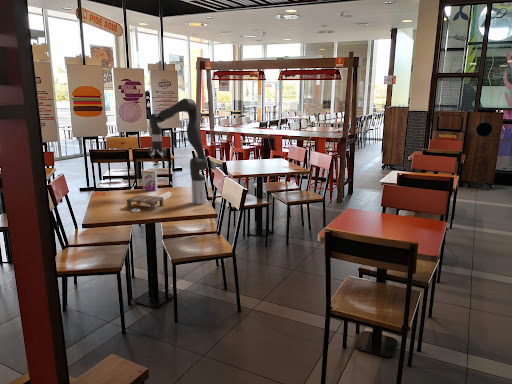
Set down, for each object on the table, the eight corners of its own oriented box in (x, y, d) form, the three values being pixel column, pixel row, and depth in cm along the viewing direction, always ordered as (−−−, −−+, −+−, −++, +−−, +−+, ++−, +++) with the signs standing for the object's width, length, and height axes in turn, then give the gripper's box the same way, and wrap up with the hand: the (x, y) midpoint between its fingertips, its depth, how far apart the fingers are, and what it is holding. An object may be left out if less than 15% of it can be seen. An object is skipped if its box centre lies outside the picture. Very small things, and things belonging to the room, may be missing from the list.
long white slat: (174, 196, 311) (174, 192, 310) (157, 204, 287) (157, 200, 286) (165, 195, 313) (165, 191, 312) (147, 203, 289) (147, 199, 289)
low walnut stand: (163, 205, 284) (163, 197, 283) (153, 210, 271) (152, 201, 270) (138, 203, 290) (138, 194, 288) (127, 208, 277) (126, 199, 275)
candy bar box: (142, 190, 328) (141, 170, 324) (144, 189, 333) (143, 169, 329) (155, 191, 327) (154, 171, 323) (157, 189, 332) (156, 170, 328)
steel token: (142, 210, 272) (142, 208, 272) (137, 213, 266) (137, 210, 266) (134, 210, 273) (134, 207, 273) (129, 212, 268) (129, 210, 267)
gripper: (167, 140, 308) (168, 161, 312) (151, 139, 312) (152, 159, 316) (162, 141, 301) (163, 162, 305) (146, 140, 305) (146, 161, 309)
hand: (157, 161), depth 310 cm, fingers open, 8 cm apart
